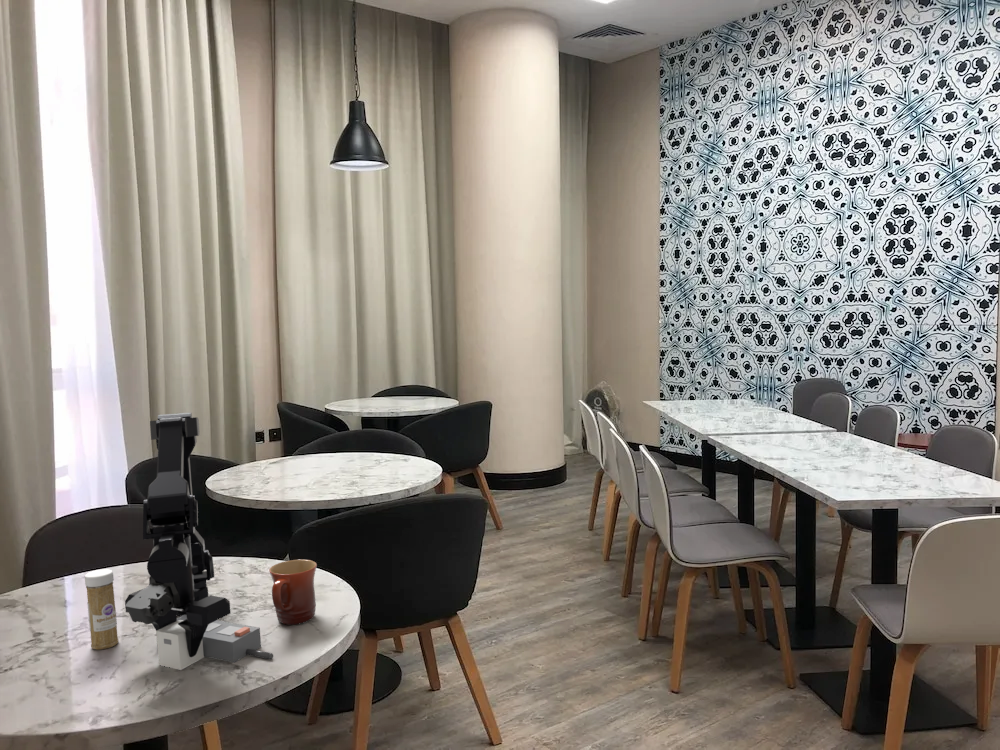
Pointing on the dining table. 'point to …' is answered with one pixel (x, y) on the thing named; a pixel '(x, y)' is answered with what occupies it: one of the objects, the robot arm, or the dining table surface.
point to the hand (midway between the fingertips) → (181, 653)
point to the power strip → (231, 641)
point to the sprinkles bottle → (101, 609)
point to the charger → (175, 647)
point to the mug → (294, 591)
